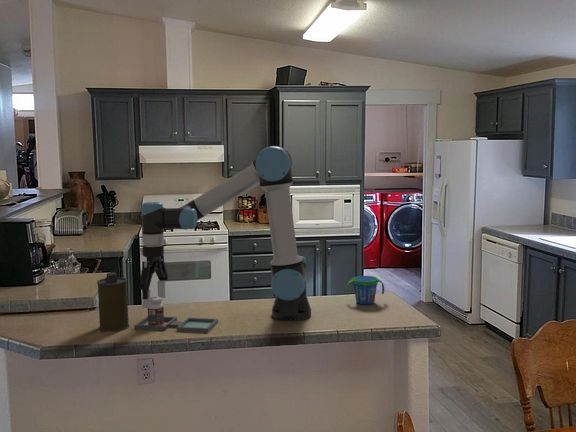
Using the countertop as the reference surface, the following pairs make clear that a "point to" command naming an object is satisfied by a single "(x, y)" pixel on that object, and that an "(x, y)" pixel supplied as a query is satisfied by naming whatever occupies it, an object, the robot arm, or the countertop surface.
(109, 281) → the canister
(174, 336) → the countertop surface
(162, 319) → the pill bottle
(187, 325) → the double square frame
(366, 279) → the snack cup
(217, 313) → the countertop surface
